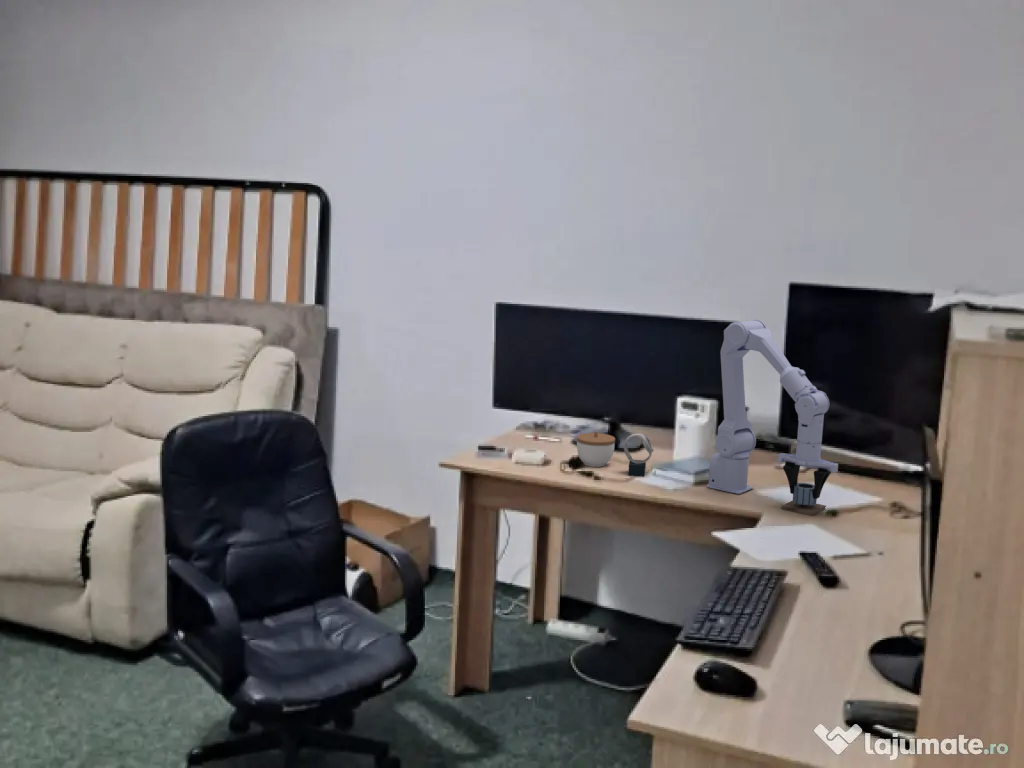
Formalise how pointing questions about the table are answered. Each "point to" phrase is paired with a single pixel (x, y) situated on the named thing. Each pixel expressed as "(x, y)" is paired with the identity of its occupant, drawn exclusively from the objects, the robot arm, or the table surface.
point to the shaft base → (803, 508)
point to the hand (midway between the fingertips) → (804, 495)
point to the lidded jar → (595, 448)
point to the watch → (638, 465)
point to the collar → (804, 494)
